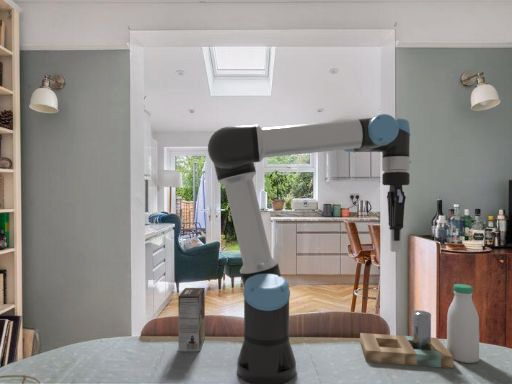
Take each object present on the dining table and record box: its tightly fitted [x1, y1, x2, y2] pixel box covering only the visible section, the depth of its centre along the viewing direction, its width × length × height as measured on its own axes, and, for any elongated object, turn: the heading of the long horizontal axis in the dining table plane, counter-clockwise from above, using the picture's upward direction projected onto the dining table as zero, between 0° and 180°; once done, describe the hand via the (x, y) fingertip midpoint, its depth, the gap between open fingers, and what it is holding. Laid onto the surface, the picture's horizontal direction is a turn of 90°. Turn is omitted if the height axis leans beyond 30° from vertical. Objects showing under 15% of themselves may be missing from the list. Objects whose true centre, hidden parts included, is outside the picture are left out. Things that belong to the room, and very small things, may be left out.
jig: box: [359, 332, 454, 369], centre depth 99 cm, size 22×12×3 cm, turn 81°
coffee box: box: [177, 287, 206, 352], centre depth 105 cm, size 9×6×16 cm
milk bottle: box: [446, 283, 480, 364], centre depth 98 cm, size 8×8×20 cm
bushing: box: [412, 310, 432, 350], centre depth 98 cm, size 5×5×12 cm
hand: (395, 251), depth 104 cm, fingers closed
